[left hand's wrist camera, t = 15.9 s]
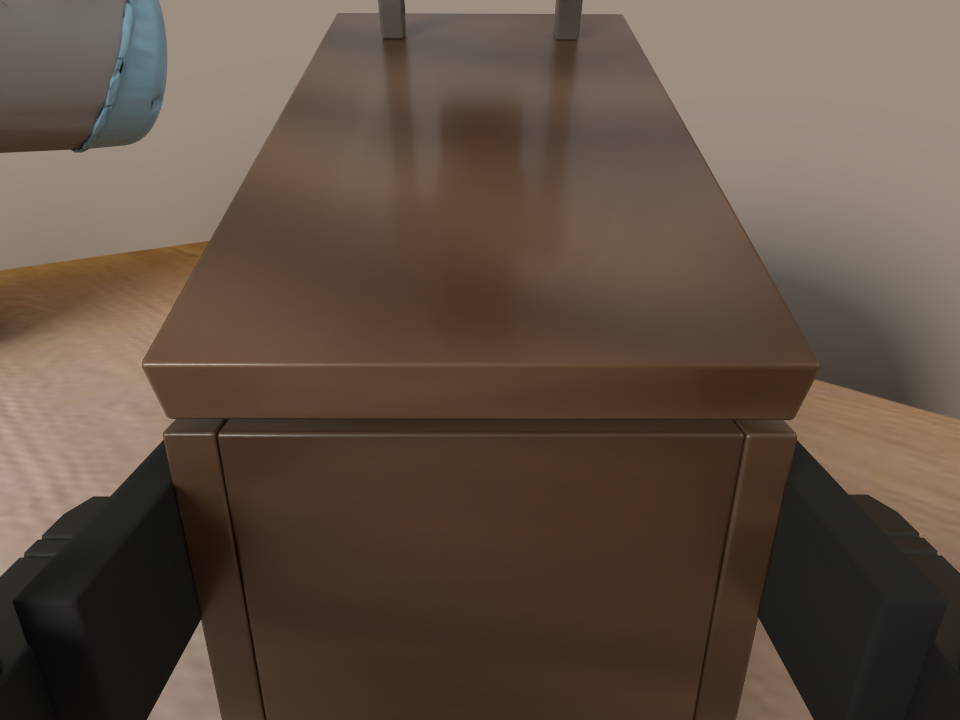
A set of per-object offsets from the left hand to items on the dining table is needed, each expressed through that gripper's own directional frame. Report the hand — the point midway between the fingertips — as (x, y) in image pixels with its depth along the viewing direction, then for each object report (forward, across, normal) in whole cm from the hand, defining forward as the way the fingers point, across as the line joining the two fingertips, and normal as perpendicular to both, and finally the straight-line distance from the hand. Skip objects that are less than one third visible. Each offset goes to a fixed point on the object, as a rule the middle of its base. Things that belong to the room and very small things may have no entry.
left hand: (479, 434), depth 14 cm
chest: (+4, 0, -7) cm, 8 cm away
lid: (+4, 0, +5) cm, 7 cm away
